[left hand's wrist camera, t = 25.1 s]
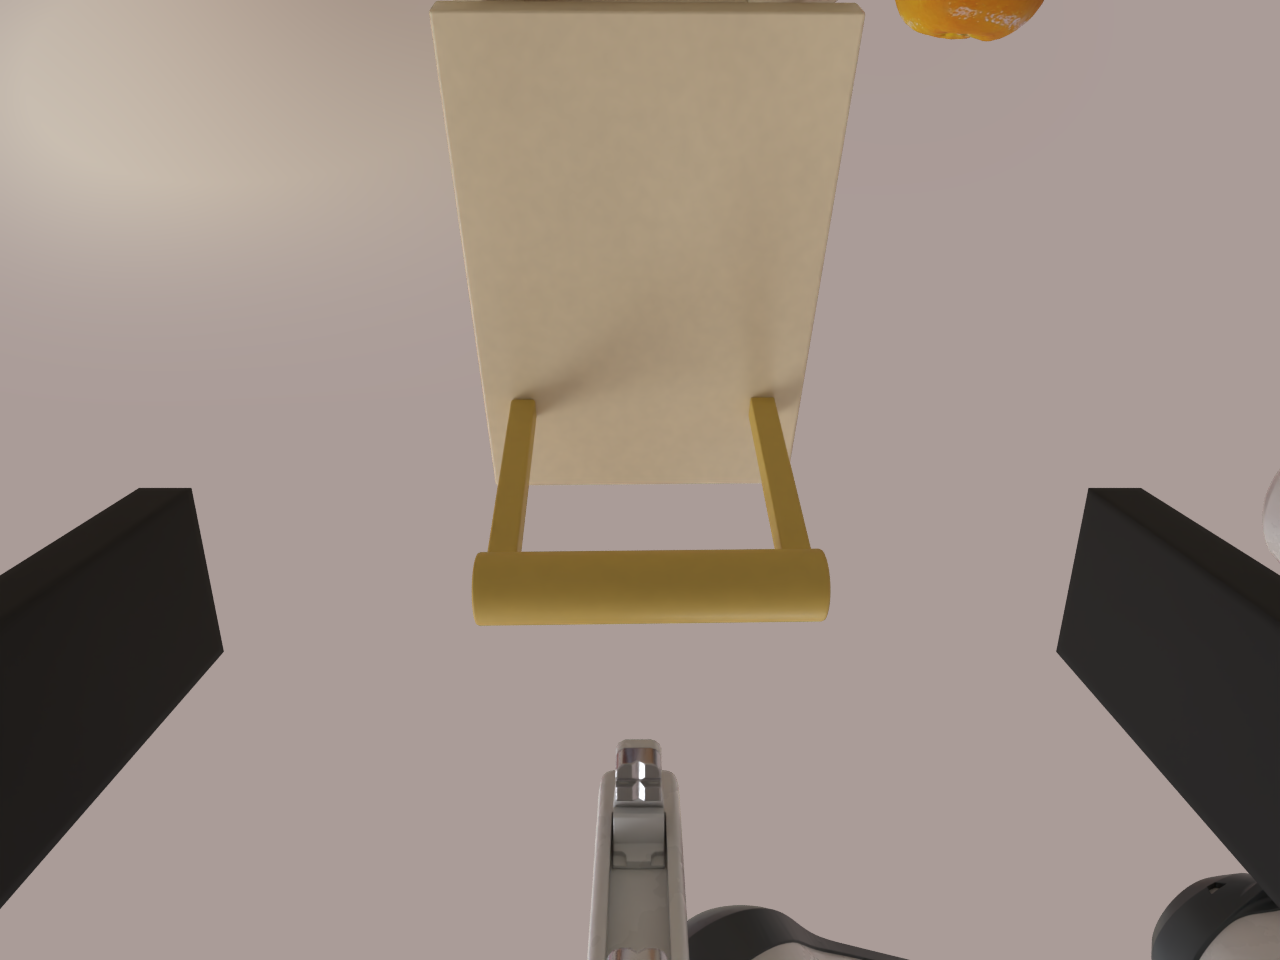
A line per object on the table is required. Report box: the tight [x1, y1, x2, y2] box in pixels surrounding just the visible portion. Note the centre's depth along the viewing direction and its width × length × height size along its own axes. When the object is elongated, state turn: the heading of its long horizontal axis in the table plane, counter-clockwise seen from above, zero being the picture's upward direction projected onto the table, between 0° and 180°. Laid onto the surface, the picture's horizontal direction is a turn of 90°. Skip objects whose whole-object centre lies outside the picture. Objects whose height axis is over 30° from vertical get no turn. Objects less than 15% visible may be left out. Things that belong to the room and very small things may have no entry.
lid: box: [429, 1, 865, 626], centre depth 19 cm, size 13×9×9 cm
